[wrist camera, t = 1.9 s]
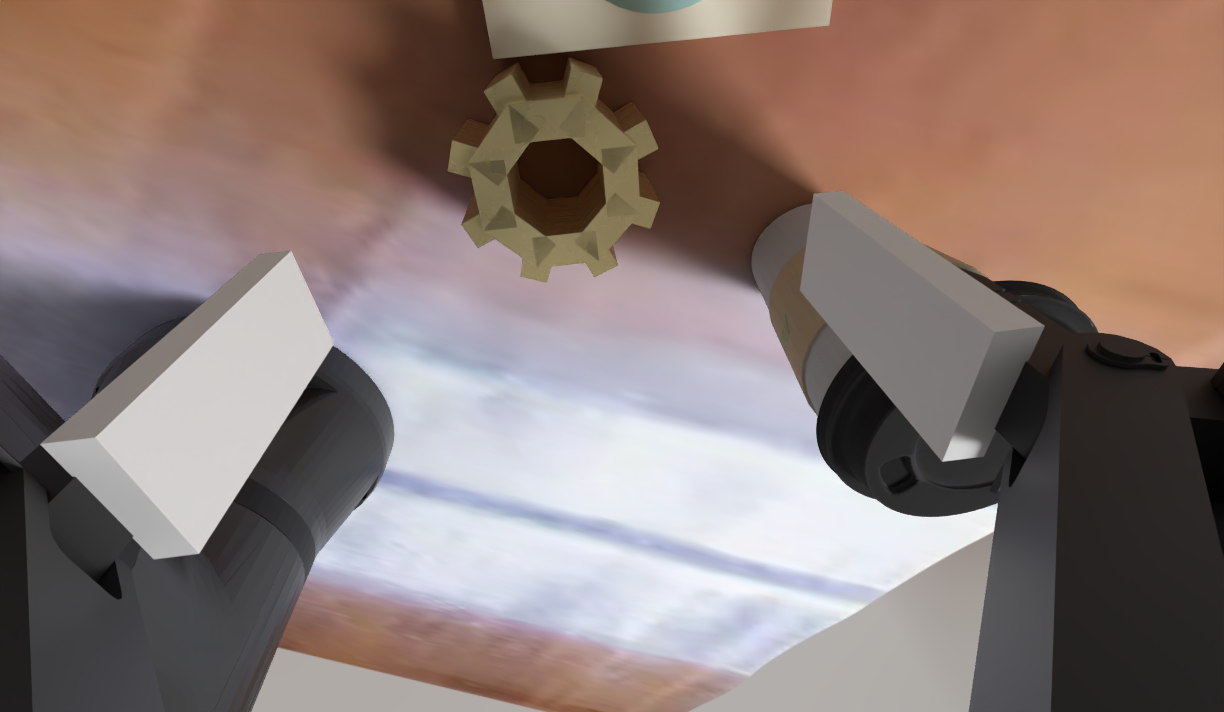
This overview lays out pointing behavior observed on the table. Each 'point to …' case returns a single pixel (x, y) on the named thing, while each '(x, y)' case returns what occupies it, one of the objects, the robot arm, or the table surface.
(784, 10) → the gear board
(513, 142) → the gear
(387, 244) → the table surface
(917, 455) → the coffee cup
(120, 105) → the table surface
